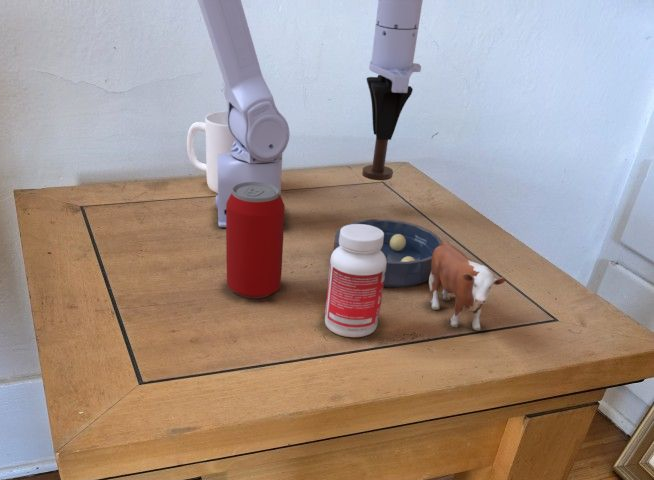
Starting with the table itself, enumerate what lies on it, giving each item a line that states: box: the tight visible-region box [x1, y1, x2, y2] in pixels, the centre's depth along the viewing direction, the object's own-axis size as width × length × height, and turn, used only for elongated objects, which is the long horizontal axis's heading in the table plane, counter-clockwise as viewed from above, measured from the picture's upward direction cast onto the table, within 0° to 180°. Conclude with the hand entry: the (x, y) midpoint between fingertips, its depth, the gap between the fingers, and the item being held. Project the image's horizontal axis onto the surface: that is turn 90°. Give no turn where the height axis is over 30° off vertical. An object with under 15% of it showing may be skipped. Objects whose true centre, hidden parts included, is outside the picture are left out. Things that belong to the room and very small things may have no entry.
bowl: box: [332, 218, 443, 288], centre depth 92 cm, size 14×14×4 cm
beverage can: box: [225, 182, 285, 299], centre depth 83 cm, size 7×7×12 cm
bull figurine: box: [428, 241, 507, 332], centre depth 81 cm, size 4×13×8 cm, turn 13°
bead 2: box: [400, 256, 415, 262], centre depth 90 cm, size 2×2×2 cm
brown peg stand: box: [361, 137, 394, 181], centre depth 102 cm, size 5×5×10 cm
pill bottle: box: [324, 224, 387, 338], centre depth 77 cm, size 6×6×11 cm
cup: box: [186, 110, 235, 194], centre depth 110 cm, size 8×12×10 cm
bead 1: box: [390, 234, 406, 251], centre depth 95 cm, size 2×2×2 cm
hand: (382, 136), depth 102 cm, fingers closed on brown peg stand
